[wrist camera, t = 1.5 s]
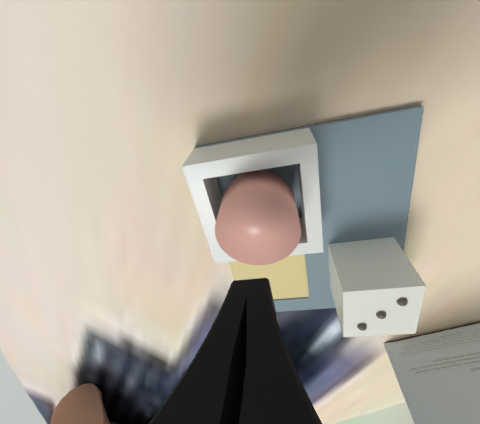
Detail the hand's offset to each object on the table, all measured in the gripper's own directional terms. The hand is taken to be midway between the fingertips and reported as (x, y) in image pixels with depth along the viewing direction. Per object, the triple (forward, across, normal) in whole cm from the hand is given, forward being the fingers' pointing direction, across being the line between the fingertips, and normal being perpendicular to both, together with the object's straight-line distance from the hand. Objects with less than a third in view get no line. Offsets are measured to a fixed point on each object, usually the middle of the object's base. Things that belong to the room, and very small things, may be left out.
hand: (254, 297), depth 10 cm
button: (+7, 0, 0) cm, 7 cm away
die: (+9, -6, +8) cm, 13 cm away
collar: (+9, 0, 0) cm, 9 cm away
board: (+9, -3, +4) cm, 11 cm away
